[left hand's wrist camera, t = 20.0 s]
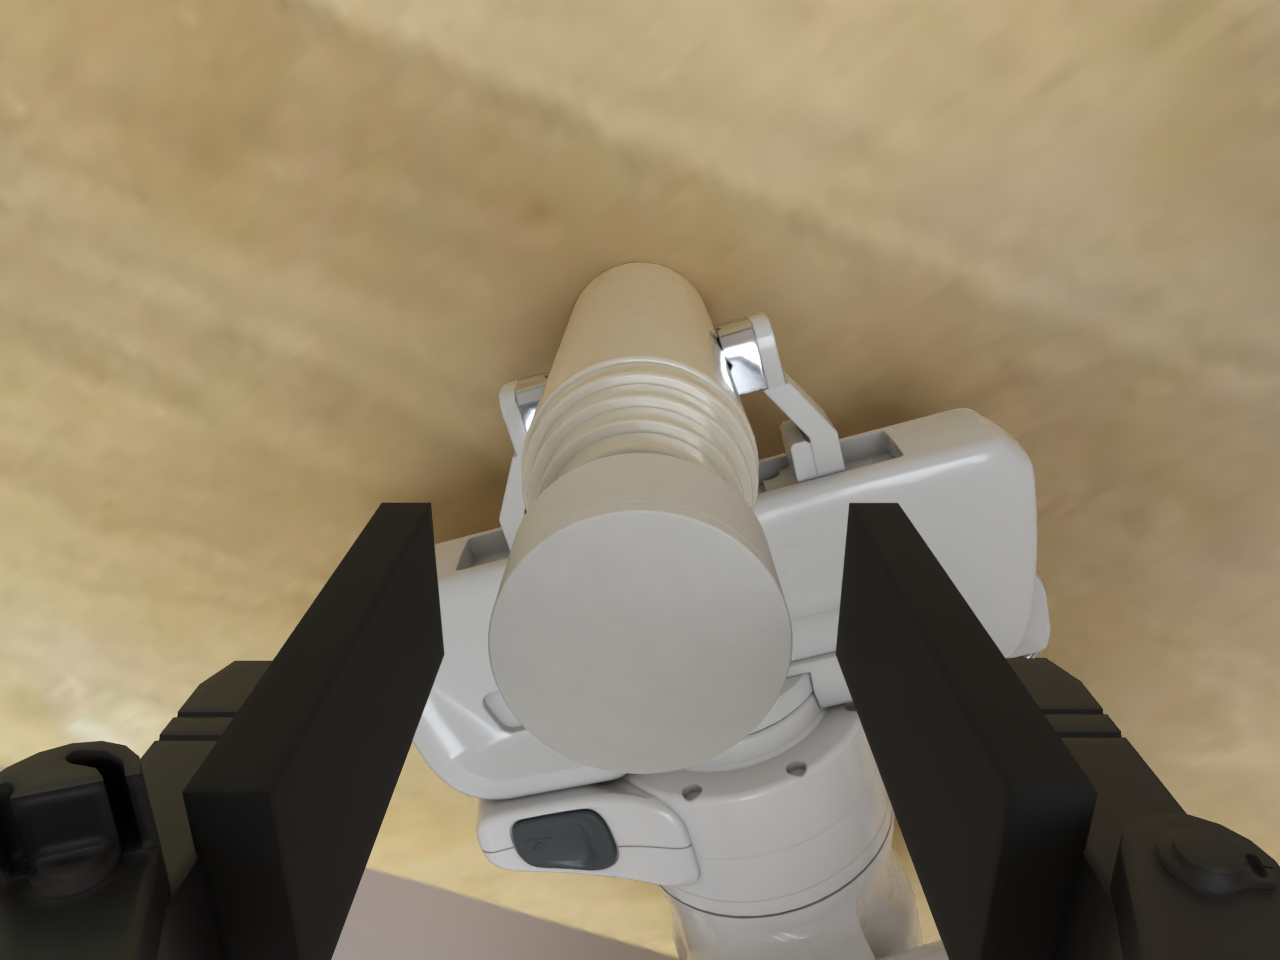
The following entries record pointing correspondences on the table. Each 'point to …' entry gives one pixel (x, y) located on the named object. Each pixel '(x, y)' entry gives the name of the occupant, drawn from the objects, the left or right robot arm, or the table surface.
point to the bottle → (640, 385)
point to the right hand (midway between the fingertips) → (630, 352)
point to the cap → (640, 617)
